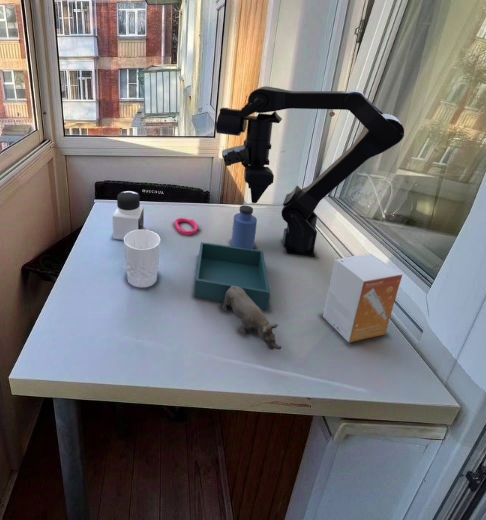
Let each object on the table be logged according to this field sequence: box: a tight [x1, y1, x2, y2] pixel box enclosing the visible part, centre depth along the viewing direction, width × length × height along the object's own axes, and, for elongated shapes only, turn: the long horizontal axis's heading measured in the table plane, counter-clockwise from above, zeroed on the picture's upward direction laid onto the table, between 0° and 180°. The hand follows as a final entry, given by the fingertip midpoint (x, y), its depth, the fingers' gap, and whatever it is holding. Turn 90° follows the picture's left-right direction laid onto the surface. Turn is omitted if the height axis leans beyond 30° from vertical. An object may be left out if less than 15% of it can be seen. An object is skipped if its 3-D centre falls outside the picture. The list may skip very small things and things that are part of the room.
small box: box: [322, 253, 403, 344], centre depth 59 cm, size 8×6×13 cm
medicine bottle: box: [112, 190, 145, 241], centre depth 90 cm, size 7×7×12 cm
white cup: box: [123, 229, 162, 288], centre depth 73 cm, size 8×8×10 cm
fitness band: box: [174, 217, 199, 236], centre depth 94 cm, size 8×6×2 cm
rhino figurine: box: [221, 286, 283, 351], centre depth 59 cm, size 4×14×6 cm, turn 22°
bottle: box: [230, 204, 258, 249], centre depth 85 cm, size 6×6×11 cm
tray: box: [193, 241, 271, 311], centre depth 73 cm, size 14×14×4 cm
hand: (252, 195), depth 87 cm, fingers open, 9 cm apart
